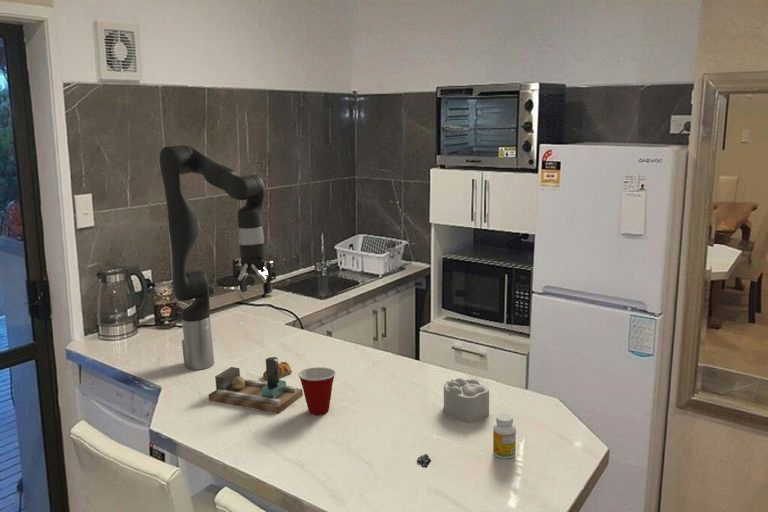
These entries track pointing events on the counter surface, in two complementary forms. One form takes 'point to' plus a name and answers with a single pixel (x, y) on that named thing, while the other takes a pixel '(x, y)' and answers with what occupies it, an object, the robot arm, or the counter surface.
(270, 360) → the jaw
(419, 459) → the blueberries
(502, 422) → the supplement bottle
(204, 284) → the robot arm
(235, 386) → the walnut
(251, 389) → the base
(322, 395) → the plastic cup
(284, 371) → the pastry
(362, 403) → the counter surface
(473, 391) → the lumpy-topped squat cylinder
